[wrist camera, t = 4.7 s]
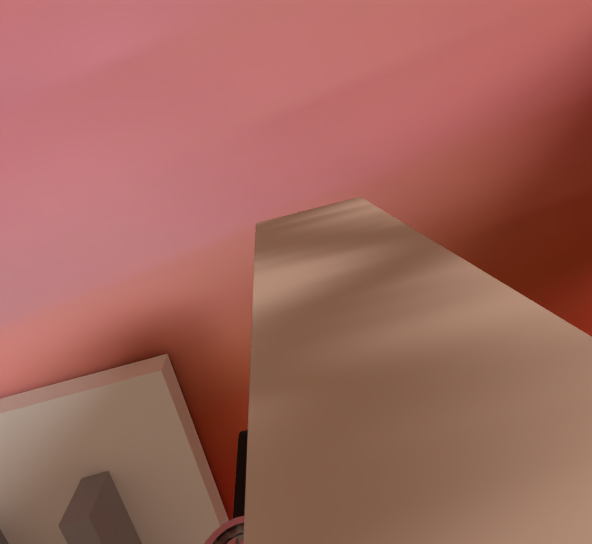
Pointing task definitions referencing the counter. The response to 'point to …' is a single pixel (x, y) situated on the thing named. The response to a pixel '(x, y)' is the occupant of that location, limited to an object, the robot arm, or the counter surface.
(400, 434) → the beige rectangular block
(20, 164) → the counter surface
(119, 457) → the white tile with rails
